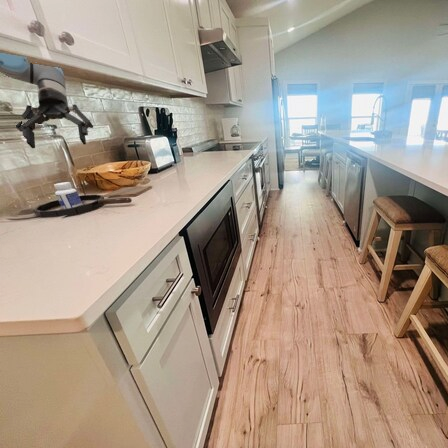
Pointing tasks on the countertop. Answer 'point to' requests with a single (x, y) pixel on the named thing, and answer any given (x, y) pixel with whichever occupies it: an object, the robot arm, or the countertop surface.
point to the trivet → (128, 191)
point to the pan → (79, 209)
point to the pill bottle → (67, 195)
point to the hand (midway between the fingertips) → (57, 143)
